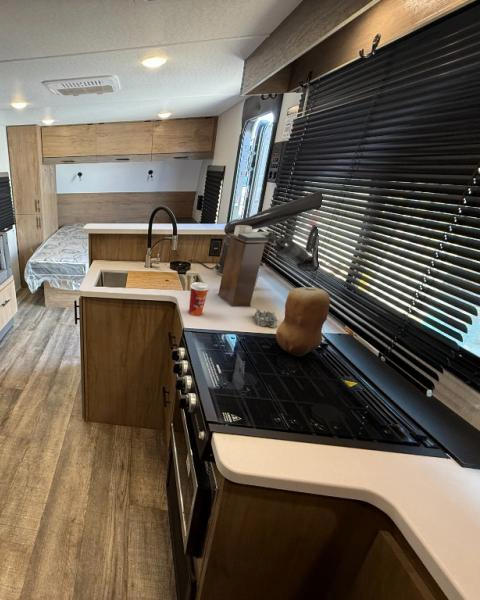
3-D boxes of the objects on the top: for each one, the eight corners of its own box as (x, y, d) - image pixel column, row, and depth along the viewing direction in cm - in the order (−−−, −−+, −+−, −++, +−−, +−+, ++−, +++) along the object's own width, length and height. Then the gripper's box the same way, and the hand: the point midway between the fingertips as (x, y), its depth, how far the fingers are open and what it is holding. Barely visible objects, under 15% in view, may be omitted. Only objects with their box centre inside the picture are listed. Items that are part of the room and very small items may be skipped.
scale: (237, 237, 141) (238, 233, 141) (258, 236, 142) (259, 233, 141) (246, 240, 134) (247, 237, 133) (269, 240, 134) (270, 236, 134)
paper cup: (195, 318, 136) (200, 289, 130) (183, 311, 142) (187, 283, 137) (208, 314, 139) (213, 285, 134) (195, 308, 146) (199, 280, 140)
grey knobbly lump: (252, 315, 139) (254, 307, 137) (271, 317, 136) (274, 309, 135) (257, 325, 129) (259, 317, 128) (277, 328, 127) (279, 319, 125)
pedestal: (216, 294, 161) (228, 233, 149) (235, 293, 162) (248, 233, 149) (231, 306, 147) (245, 240, 134) (251, 306, 147) (268, 240, 134)
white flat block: (275, 236, 143) (277, 227, 141) (238, 236, 142) (240, 227, 141) (266, 233, 149) (268, 224, 148) (231, 233, 149) (232, 225, 147)
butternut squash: (274, 339, 120) (291, 278, 109) (316, 350, 112) (338, 286, 102) (269, 355, 109) (288, 290, 99) (315, 368, 102) (340, 300, 92)
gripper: (283, 238, 154) (260, 222, 151) (303, 245, 141) (278, 227, 138) (273, 251, 157) (249, 235, 153) (291, 259, 144) (266, 242, 140)
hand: (263, 232), depth 145 cm, fingers open, 8 cm apart
